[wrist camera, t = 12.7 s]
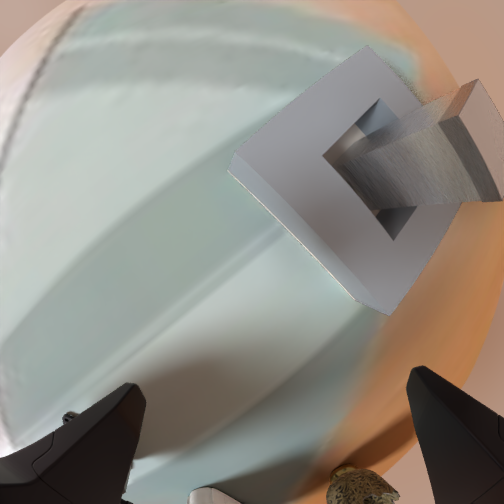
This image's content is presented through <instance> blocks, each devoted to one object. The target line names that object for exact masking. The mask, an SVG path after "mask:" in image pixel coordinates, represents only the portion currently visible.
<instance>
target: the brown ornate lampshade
mask: <svg viewBox="0 0 504 504" xmlns="http://www.w3.org/2000/svg"><path fill="white" fill-rule="evenodd" d="M329 482H330V484H331V485H330V487H329V488H328V491H327V495H326V499H327V504H394V502H393V500H394V501H396V500H399V497H400V495H399V494H398V492H397V491H396V490H395V489H394V488H393V487H392V486H390V485H389V484H388V483H387V482H386V481H385V480H384V479H383V478H382V477H380V476H379V475H378V474H377V473H375V472H373V471H371V470H367V469H358V467H357V466H355V465H352V464H346V465H343V466H341V467H339V468H337V469H336V470H334V471H333V472H332V473H331V475H330V478H329Z"/></svg>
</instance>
